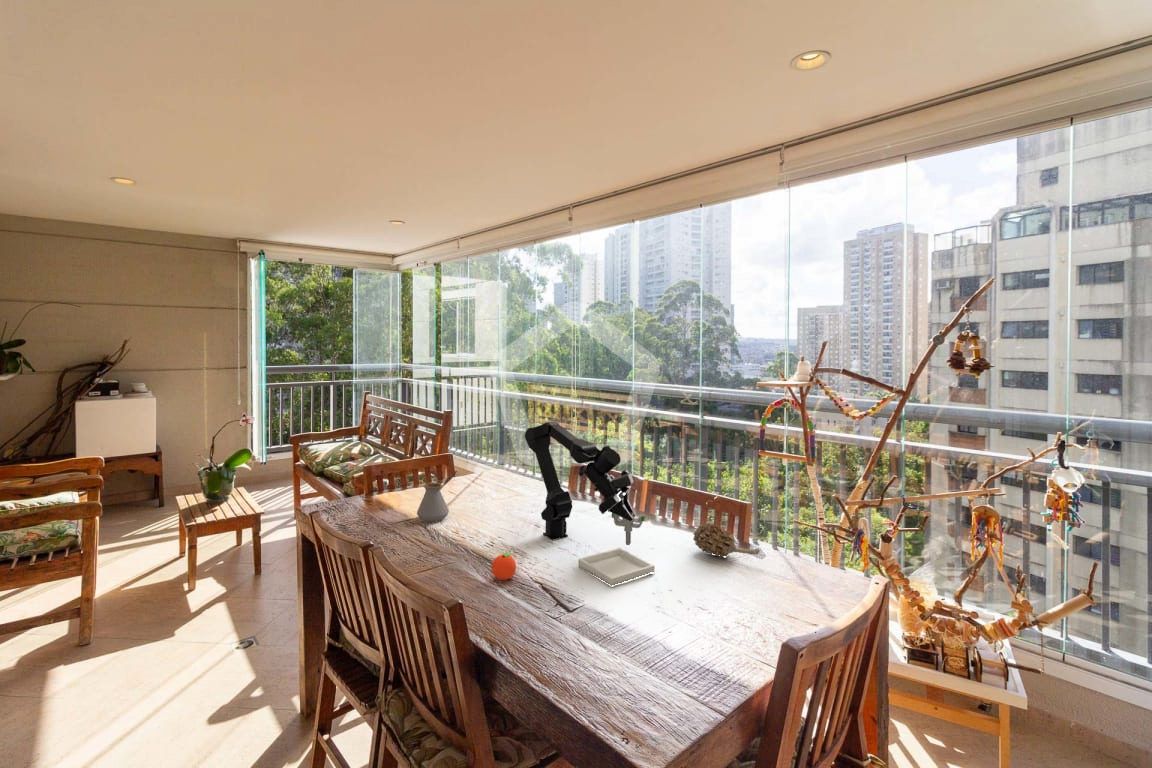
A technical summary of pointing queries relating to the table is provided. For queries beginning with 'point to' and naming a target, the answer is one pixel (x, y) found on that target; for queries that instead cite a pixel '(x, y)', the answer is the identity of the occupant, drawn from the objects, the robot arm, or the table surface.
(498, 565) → the clementine
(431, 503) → the coffee pot
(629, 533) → the mechanical component
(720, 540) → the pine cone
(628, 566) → the parts tray
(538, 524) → the table surface
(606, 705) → the table surface
